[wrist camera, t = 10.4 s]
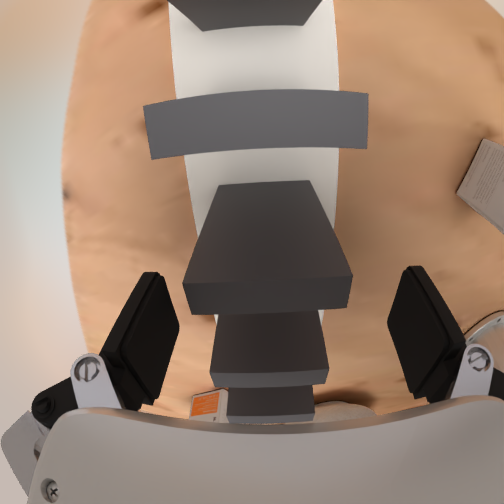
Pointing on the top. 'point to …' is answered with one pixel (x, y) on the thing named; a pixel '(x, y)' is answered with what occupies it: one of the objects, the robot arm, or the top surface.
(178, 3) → the domino
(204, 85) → the board
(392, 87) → the top surface
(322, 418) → the cereal bowl
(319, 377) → the domino
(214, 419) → the skincare box
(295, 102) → the domino
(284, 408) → the domino
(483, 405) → the robot arm
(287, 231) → the domino
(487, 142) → the skincare box
